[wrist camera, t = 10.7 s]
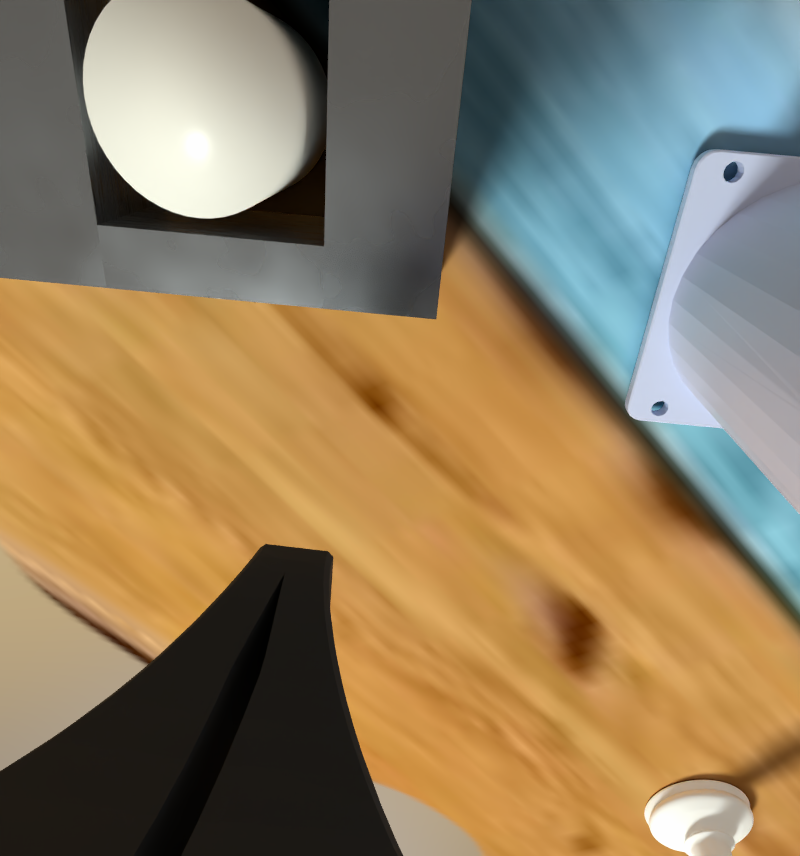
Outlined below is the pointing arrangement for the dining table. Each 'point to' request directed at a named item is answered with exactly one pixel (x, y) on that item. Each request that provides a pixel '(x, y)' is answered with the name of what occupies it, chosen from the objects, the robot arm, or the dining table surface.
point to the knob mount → (249, 229)
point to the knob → (204, 102)
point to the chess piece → (700, 817)
